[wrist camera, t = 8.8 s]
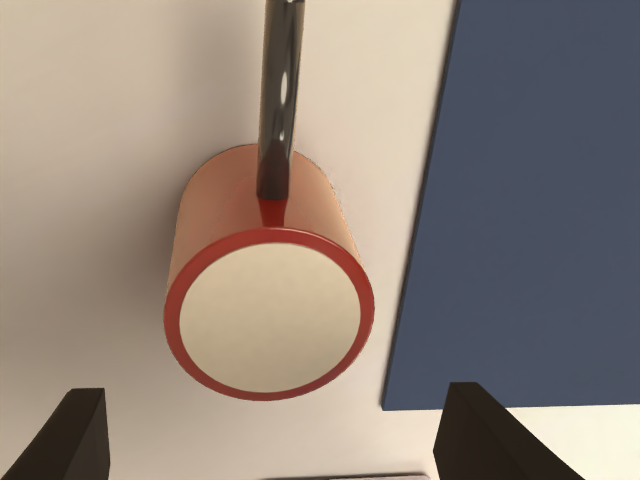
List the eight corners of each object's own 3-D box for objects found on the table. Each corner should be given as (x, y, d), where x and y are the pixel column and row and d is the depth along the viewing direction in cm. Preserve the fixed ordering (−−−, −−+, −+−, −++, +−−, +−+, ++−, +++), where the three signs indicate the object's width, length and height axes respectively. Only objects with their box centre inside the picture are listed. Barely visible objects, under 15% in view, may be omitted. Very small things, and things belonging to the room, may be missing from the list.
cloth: (713, 397, 28) (718, 402, 28) (381, 406, 26) (382, 411, 25) (912, 12, 21) (920, 14, 20) (463, -34, 18) (467, -32, 18)
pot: (328, 286, 23) (361, 401, 17) (179, 285, 22) (164, 406, 16) (367, -26, 18) (429, 0, 12) (176, -45, 17) (153, -25, 11)
